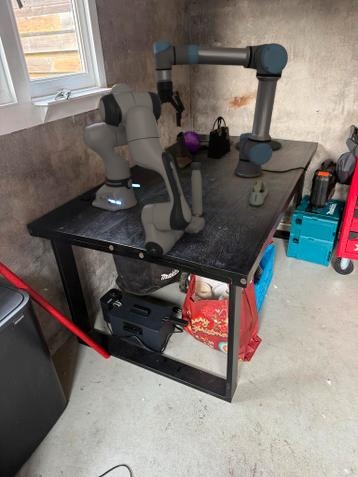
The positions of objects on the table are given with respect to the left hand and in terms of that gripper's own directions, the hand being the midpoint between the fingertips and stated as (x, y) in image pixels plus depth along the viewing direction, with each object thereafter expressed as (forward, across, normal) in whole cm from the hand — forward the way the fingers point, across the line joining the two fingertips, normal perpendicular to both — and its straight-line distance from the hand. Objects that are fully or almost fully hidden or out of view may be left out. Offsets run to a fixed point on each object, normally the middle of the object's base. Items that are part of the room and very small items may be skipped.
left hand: (186, 213), depth 135 cm
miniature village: (+130, -2, +6) cm, 130 cm away
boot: (+80, +34, +6) cm, 88 cm away
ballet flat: (+38, -22, +6) cm, 45 cm away
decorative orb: (+103, +39, +6) cm, 111 cm away
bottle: (+13, 0, +6) cm, 14 cm away
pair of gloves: (+129, +34, +6) cm, 133 cm away
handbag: (+104, +18, +6) cm, 106 cm away
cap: (+13, 0, -17) cm, 21 cm away
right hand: (+37, +24, -25) cm, 50 cm away
